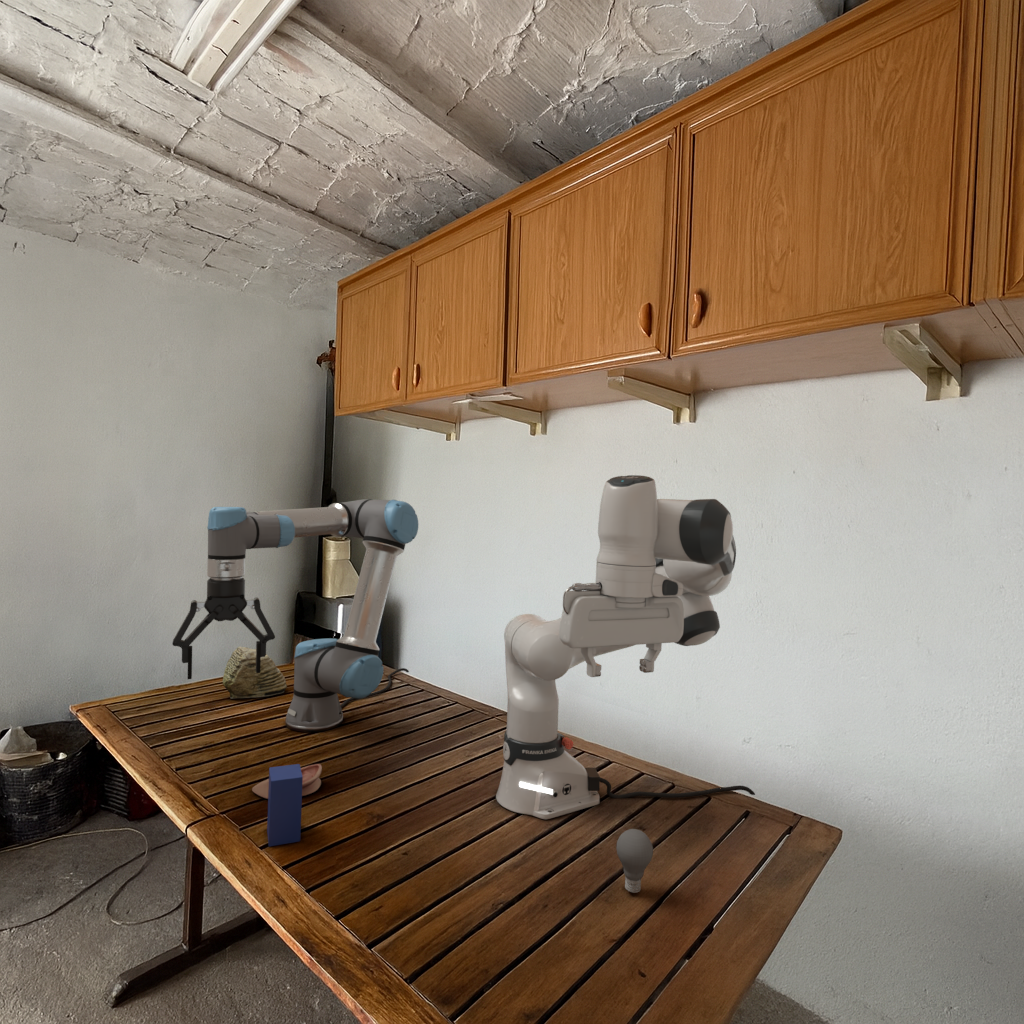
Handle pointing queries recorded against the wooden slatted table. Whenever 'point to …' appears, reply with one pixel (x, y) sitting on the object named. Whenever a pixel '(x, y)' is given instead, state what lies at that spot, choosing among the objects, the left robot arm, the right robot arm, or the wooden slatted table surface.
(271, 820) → the block
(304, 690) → the left robot arm
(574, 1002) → the wooden slatted table surface
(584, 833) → the wooden slatted table surface
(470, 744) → the wooden slatted table surface
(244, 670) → the fossil
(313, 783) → the anatomical model
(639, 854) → the light bulb
